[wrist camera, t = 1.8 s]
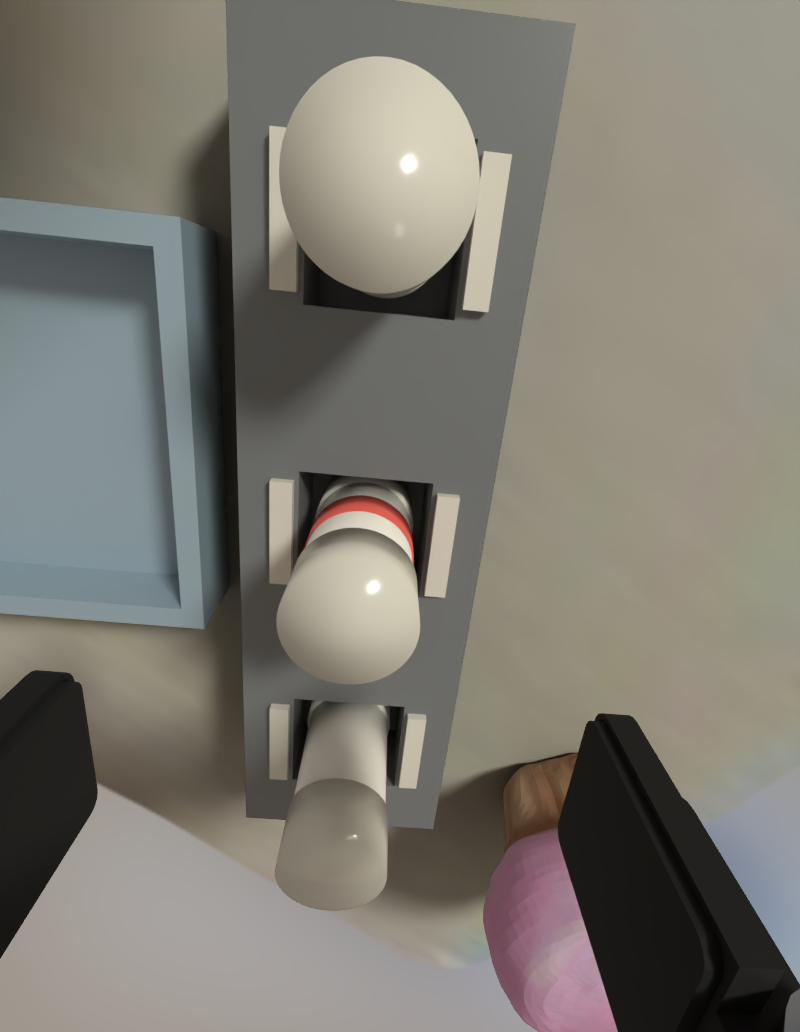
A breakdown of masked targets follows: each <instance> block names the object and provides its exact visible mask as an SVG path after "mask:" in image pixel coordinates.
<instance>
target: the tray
mask: <svg viewBox="0 0 800 1032" xmlns="http://www.w3.org/2000/svg"><path fill="white" fill-rule="evenodd" d="M228 589H229V584H228V555H227V527H226V499H225V470H224V442H223V414H222V386H221V357H220V329H219V301H218V273H217V244H216V232H215V231H213V230H210V229H208V228H206V227H203V226H201V225H198V224H196V223H193V222H191V221H189V220H186V219H184V218H181V217H176V216H167V215H158V214H149V213H139V212H130V211H121V210H112V209H103V208H94V207H85V206H76V205H67V204H58V203H49V202H40V201H31V200H22V199H13V198H4V197H0V613H3V614H16V615H29V616H41V617H54V618H67V619H80V620H93V621H105V622H118V623H131V624H144V625H157V626H169V627H182V628H195V629H205V627H206V625H207V624H208V622H209V620H210V619H211V617H212V615H213V614H214V612H215V610H216V609H217V607H218V605H219V604H220V602H221V600H222V599H223V597H224V595H225V594H226V592H227V590H228Z"/></svg>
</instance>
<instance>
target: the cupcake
mask: <svg viewBox="0 0 800 1032" xmlns="http://www.w3.org/2000/svg"><path fill="white" fill-rule="evenodd" d="M577 755H578V753H576V754H570V755H567V756H564V757H559V758H554V759H549V760H545V761H542V762H538V763H533V764H527V765H524V766H523V767H521V768H520V769H518V770H517V771H516V772H515V773H514V774H513V776H512V777H511V778H510V780H509V781H508V783H507V784H506V786H505V789H504V794H503V803H504V829H505V841H506V845H505V850H504V856H503V858H502V861H501V863H500V864H499V865H498V867H497V868H496V869H495V870H494V872H493V874H492V876H491V879H490V885H489V888H488V892H487V896H486V899H485V904H484V910H483V922H484V928H485V933H486V937H487V941H488V945H489V949H490V954H491V959H492V963H493V966H494V968H495V971H496V974H497V977H498V979H499V982H500V984H501V987H502V988H503V990H504V992H505V993H506V995H507V996H508V998H509V1000H510V1002H511V1004H512V1006H513V1008H514V1009H515V1011H516V1012H517V1013H518V1014H519V1016H520V1017H521V1018H522V1020H523V1021H524V1022H525V1023H526V1024H528V1025H529V1026H531V1027H532V1028H534V1029H535V1030H537V1031H538V1032H618V1031H617V1028H616V1024H615V1021H614V1018H613V1015H612V1011H611V1008H610V1005H609V1002H608V999H607V995H606V992H605V989H604V986H603V982H602V979H601V976H600V973H599V970H598V966H597V963H596V960H595V957H594V953H593V950H592V947H591V944H590V941H589V937H588V934H587V931H586V928H585V924H584V921H583V918H582V915H581V912H580V908H579V905H578V902H577V899H576V895H575V892H574V889H573V886H572V883H571V879H570V876H569V873H568V870H567V867H566V863H565V860H564V857H563V854H562V850H561V847H560V843H559V838H558V822H559V818H560V815H561V811H562V808H563V804H564V801H565V797H566V794H567V790H568V787H569V783H570V780H571V776H572V773H573V769H574V766H575V762H576V759H577Z"/></svg>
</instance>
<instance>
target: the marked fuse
mask: <svg viewBox="0 0 800 1032" xmlns="http://www.w3.org/2000/svg"><path fill="white" fill-rule="evenodd" d="M412 532H413V516H412V502H411V496H410V492H409V490H408V487H407V486H406V484H405V482H404V481H399V480H388V479H377V478H366V477H355V476H344V475H334V476H333V477H332V478H331V480H330V481H329V483H328V484H327V486H326V489H325V491H324V494H323V496H322V499H321V501H320V504H319V506H318V509H317V512H316V516H315V521H314V523H313V526H312V528H311V531H310V533H309V536H308V538H307V541H306V544H305V548H304V550H303V551H302V553H301V554H300V556H299V558H298V559H297V562H296V564H295V567H294V569H293V572H292V574H291V577H290V579H289V582H288V584H287V587H286V589H285V592H284V594H283V597H282V599H281V602H280V604H279V608H278V612H277V619H276V624H277V632H278V637H279V639H280V642H281V645H282V646H283V648H284V650H285V652H286V653H287V654H288V656H289V657H290V658H291V659H292V660H293V661H294V662H295V663H296V665H298V666H299V667H300V668H301V669H303V670H304V671H306V672H307V673H309V674H311V675H313V676H315V677H317V678H319V679H322V680H325V681H328V682H332V683H338V684H350V685H354V684H364V683H369V682H373V681H376V680H379V679H382V678H384V677H386V676H388V675H390V674H392V673H393V672H395V671H396V670H398V669H399V668H400V667H401V666H402V665H403V664H404V663H405V662H406V661H407V660H408V659H409V657H410V656H411V655H412V653H413V651H414V650H415V648H416V645H417V642H418V639H419V634H420V615H419V601H418V586H417V575H416V571H415V568H414V553H413V539H412Z"/></svg>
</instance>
